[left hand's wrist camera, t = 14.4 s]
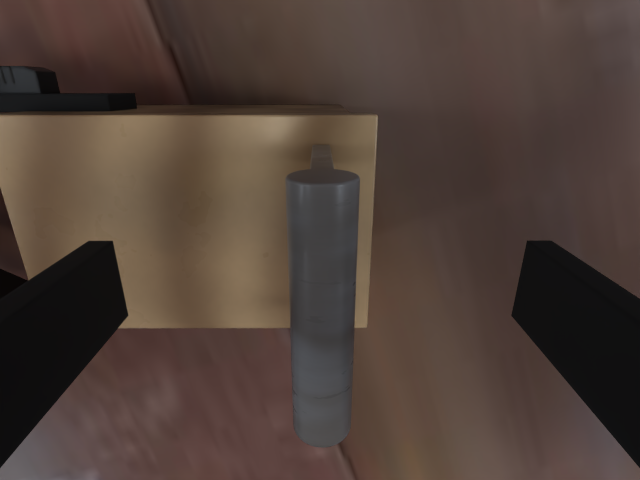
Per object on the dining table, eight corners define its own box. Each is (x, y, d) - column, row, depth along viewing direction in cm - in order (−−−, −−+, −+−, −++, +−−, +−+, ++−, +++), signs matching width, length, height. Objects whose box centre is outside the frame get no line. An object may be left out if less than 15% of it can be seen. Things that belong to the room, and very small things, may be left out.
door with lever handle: (374, 112, 16) (429, 137, 8) (364, 315, 20) (396, 472, 12) (0, 113, 16) (-321, 137, 8) (58, 315, 20) (-124, 473, 12)
